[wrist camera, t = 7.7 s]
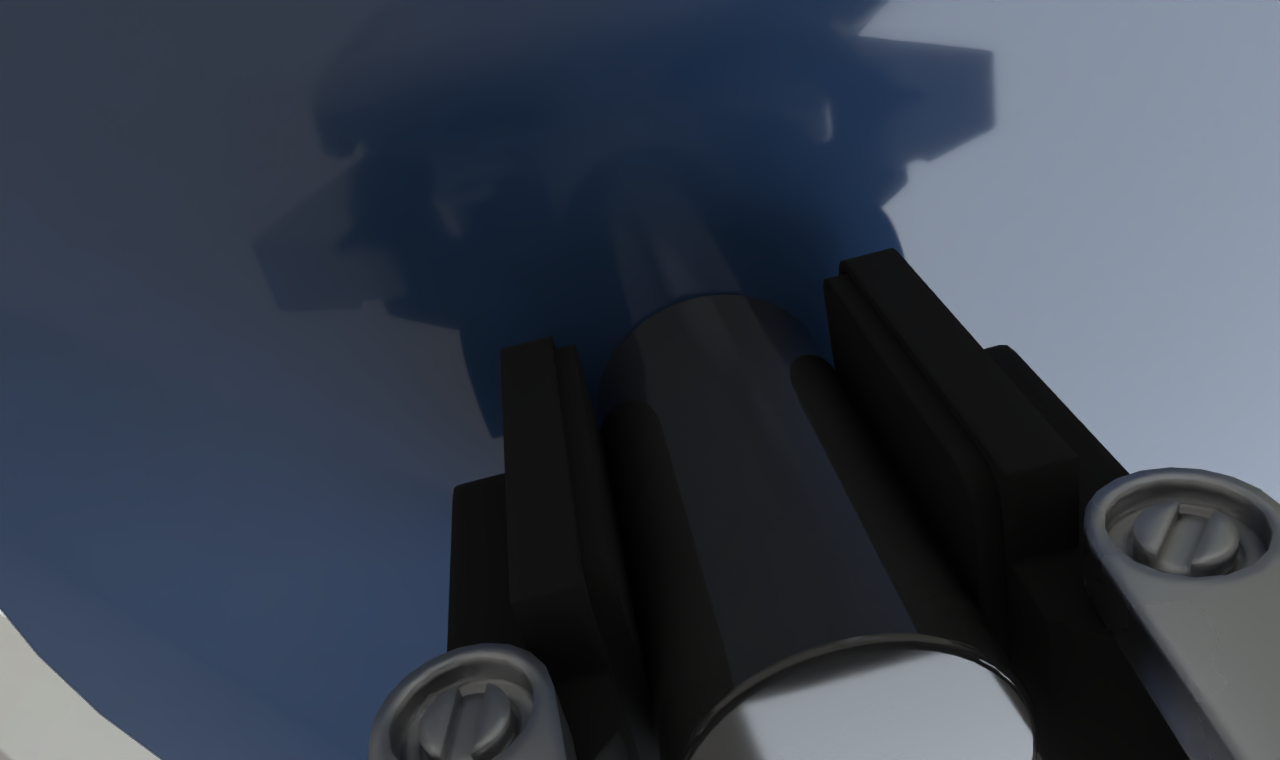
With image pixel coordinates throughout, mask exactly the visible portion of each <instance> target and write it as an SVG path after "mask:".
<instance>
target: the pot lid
mask: <svg viewBox="0 0 1280 760" xmlns="http://www.w3.org/2000/svg"><path fill="white" fill-rule="evenodd" d="M889 248H894V249H895V250H897V251H898V252H899V253H900V255H901V256H902V257H903V258H904V259H905V260H906V261H907V263H908V264H909V265H910V266H911V267H912V268H913V269H914V270H915V272H916V273H917V274H918V275H919V276H920V277H921V278H922V280H923V281H924V282H925V283H926V284H927V285H928V286H929V288H930V289H931V290H932V291H933V292H934V293H935V294H936V295H937V297H938V298H939V299H940V300H941V301H942V302H943V303H944V305H945V306H946V307H947V308H948V309H949V310H950V311H951V312H952V314H953V315H954V316H955V317H956V318H957V319H958V320H959V322H960V323H961V324H962V325H963V326H964V327H965V328H966V329H967V331H968V332H969V333H970V334H971V335H972V336H973V337H974V339H975V340H976V341H977V342H978V343H979V344H980V345H981V346H982V348H983V349H985V348H989V347H993V346H997V345H1008V346H1009V347H1010V348H1012V349H1013V350H1014V351H1015V352H1016V353H1017V354H1018V355H1019V356H1020V357H1021V358H1022V359H1023V360H1024V361H1025V362H1026V363H1027V364H1028V365H1029V366H1030V368H1031V369H1032V370H1033V371H1034V372H1035V373H1036V374H1037V375H1038V376H1039V377H1040V378H1041V379H1042V380H1043V381H1044V383H1045V384H1046V385H1047V386H1048V387H1049V388H1050V389H1051V390H1052V391H1053V392H1054V393H1055V394H1056V395H1057V396H1058V398H1059V399H1060V400H1061V401H1062V402H1063V403H1064V404H1065V405H1066V406H1067V407H1068V408H1069V409H1070V410H1071V412H1072V413H1073V414H1074V415H1075V416H1076V417H1077V418H1078V419H1079V420H1080V421H1081V422H1082V423H1083V424H1084V425H1085V427H1086V428H1087V429H1088V430H1089V431H1090V432H1091V433H1092V434H1093V435H1094V436H1095V437H1096V438H1097V439H1098V440H1099V442H1100V443H1101V444H1102V445H1103V446H1104V447H1105V448H1106V449H1107V450H1108V451H1109V452H1110V453H1111V454H1112V455H1113V457H1114V458H1115V459H1116V460H1117V461H1118V462H1119V463H1120V464H1121V465H1122V466H1123V467H1124V468H1125V469H1126V470H1127V472H1128V473H1129V474H1132V473H1135V472H1138V471H1141V470H1150V469H1159V468H1168V467H1175V468H1191V469H1203V470H1207V471H1211V472H1216V473H1220V474H1224V475H1228V476H1232V477H1235V478H1237V479H1239V480H1241V481H1244V482H1246V483H1248V484H1250V485H1253V486H1255V487H1257V488H1259V489H1261V490H1262V491H1263V492H1265V493H1266V494H1267V495H1269V496H1270V497H1271V498H1273V499H1274V500H1275V501H1276V502H1278V503H1279V504H1280V0H0V610H1V611H2V612H3V614H4V615H5V616H6V617H7V619H8V620H9V621H10V622H11V624H12V625H13V626H14V627H15V628H16V630H17V631H18V632H19V633H20V635H21V636H22V637H23V638H24V639H25V641H26V642H27V643H28V644H29V646H30V647H31V648H32V649H33V651H34V652H35V653H36V654H37V655H38V656H39V657H40V658H41V659H42V660H43V661H44V662H45V663H46V664H47V665H48V666H49V667H50V668H51V669H52V670H53V671H54V672H55V673H56V674H58V675H59V676H60V677H61V678H62V679H63V680H64V681H65V682H66V683H67V684H68V685H69V686H70V687H71V688H72V689H73V690H74V691H75V692H77V693H78V694H79V695H80V696H81V697H82V698H83V699H84V700H85V701H86V702H87V703H88V704H89V705H90V706H91V707H92V708H93V709H94V710H96V711H97V712H98V713H99V714H100V715H101V716H103V717H104V718H105V719H107V720H108V721H109V722H111V723H112V724H113V725H115V726H116V727H117V728H119V729H120V730H121V731H123V732H124V733H126V734H127V735H128V736H130V737H131V738H132V739H134V740H135V741H136V742H138V743H139V744H140V745H142V746H143V747H144V748H146V749H147V750H148V751H150V752H151V753H152V754H154V755H155V756H157V757H158V758H159V759H161V760H368V752H369V739H370V735H371V730H372V726H373V721H374V718H375V716H376V715H377V713H378V711H379V709H380V708H381V706H382V704H383V702H384V701H385V699H386V697H387V696H388V695H389V694H390V692H391V691H392V690H393V689H394V688H395V687H396V686H397V685H398V684H399V683H400V682H401V681H402V680H403V679H404V678H405V677H406V676H407V675H408V674H410V673H411V672H413V671H414V670H416V669H417V668H419V667H420V666H421V665H423V664H424V663H426V662H427V661H429V660H430V659H432V658H435V657H437V656H439V655H442V654H444V653H447V637H448V609H449V582H450V554H451V527H452V499H453V491H454V488H455V487H456V486H457V485H460V484H464V483H468V482H471V481H475V480H479V479H483V478H487V477H491V476H495V475H499V474H502V473H505V464H504V437H503V411H502V384H501V358H500V351H501V349H502V348H506V347H510V346H514V345H518V344H522V343H525V342H529V341H533V340H537V339H541V338H545V337H549V336H552V338H553V340H554V343H555V346H556V348H560V347H564V346H568V345H572V344H575V346H576V349H577V352H578V356H579V359H580V362H581V366H582V369H583V373H584V376H585V380H586V383H587V387H588V390H589V394H590V397H591V401H592V404H593V408H594V411H595V415H596V418H597V422H598V425H599V429H600V433H601V438H602V444H603V449H604V455H605V460H606V465H607V471H608V476H609V481H610V487H611V492H612V497H613V503H614V508H615V514H616V519H617V524H618V530H619V535H620V540H621V546H622V551H623V557H624V562H625V567H626V573H627V578H628V583H629V589H630V594H631V600H632V605H633V610H634V616H635V621H636V626H637V632H638V637H639V643H640V648H641V653H642V659H643V664H644V669H645V675H646V680H647V686H648V691H649V696H650V714H651V719H652V724H653V730H654V735H655V741H656V746H657V752H658V757H659V760H1036V758H1037V753H1038V741H1039V730H1038V722H1037V714H1036V710H1035V707H1034V704H1033V701H1032V699H1031V696H1030V694H1029V693H1028V691H1027V689H1026V688H1025V686H1024V684H1023V682H1022V681H1021V679H1020V677H1019V676H1018V674H1017V672H1016V671H1015V669H1014V668H1013V666H1012V664H1011V663H1010V661H1009V659H1008V658H1007V656H1006V654H1005V653H1004V651H1003V649H1002V648H1001V646H1000V644H999V643H998V641H997V639H996V638H995V636H994V634H993V633H992V631H991V629H990V628H989V626H988V624H987V623H986V621H985V619H984V618H983V616H982V614H981V613H980V611H979V609H978V608H977V606H976V604H975V603H974V601H973V599H972V598H971V596H970V594H969V593H968V591H967V589H966V588H965V586H964V584H963V583H962V581H961V579H960V578H959V576H958V574H957V573H956V571H955V569H954V568H953V566H952V564H951V563H950V561H949V559H948V558H947V556H946V554H945V553H944V551H943V549H942V548H941V546H940V544H939V543H938V541H937V540H936V538H935V536H934V535H933V533H932V531H931V530H930V528H929V526H928V525H927V523H926V521H925V520H924V518H923V516H922V515H921V513H920V511H919V510H918V508H917V506H916V505H915V503H914V501H913V500H912V498H911V496H910V495H909V493H908V491H907V490H906V488H905V486H904V485H903V483H902V481H901V480H900V478H899V476H898V475H897V473H896V471H895V470H894V468H893V466H892V465H891V463H890V461H889V460H888V458H887V456H886V455H885V453H884V451H883V450H882V448H881V446H880V445H879V443H878V441H877V440H876V438H875V436H874V435H873V433H872V431H871V430H870V428H869V426H868V425H867V423H866V421H865V420H864V418H863V416H862V415H861V413H860V412H859V410H858V408H857V407H856V405H855V403H854V402H853V400H852V398H851V397H850V395H849V393H848V392H847V390H846V388H845V387H844V385H843V383H842V382H841V380H840V378H839V377H838V375H837V373H836V372H835V368H834V361H833V354H832V347H831V340H830V333H829V326H828V319H827V312H826V306H825V299H824V290H823V282H824V279H827V278H831V277H835V276H839V264H840V261H843V260H847V259H851V258H854V257H858V256H862V255H866V254H870V253H874V252H878V251H882V250H885V249H889Z"/></svg>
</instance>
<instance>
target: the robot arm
mask: <svg viewBox="0 0 1280 760" xmlns="http://www.w3.org/2000/svg"><path fill="white" fill-rule="evenodd" d="M823 290H824V299H825V306H826V312H827V319H828V326H829V333H830V340H831V347H832V354H833V361H834V368H835V372H836V373H837V375H838V377H839V378H840V380H841V382H842V383H843V385H844V387H845V388H846V390H847V392H848V393H849V395H850V397H851V398H852V400H853V402H854V403H855V405H856V407H857V408H858V410H859V412H860V413H861V415H862V416H863V418H864V420H865V421H866V423H867V425H868V426H869V428H870V430H871V431H872V433H873V435H874V436H875V438H876V440H877V441H878V443H879V445H880V446H881V448H882V450H883V451H884V453H885V455H886V456H887V458H888V460H889V461H890V463H891V465H892V466H893V468H894V470H895V471H896V473H897V475H898V476H899V478H900V480H901V481H902V483H903V485H904V486H905V488H906V490H907V491H908V493H909V495H910V496H911V498H912V500H913V501H914V503H915V505H916V506H917V508H918V510H919V511H920V513H921V515H922V516H923V518H924V520H925V521H926V523H927V525H928V526H929V528H930V530H931V531H932V533H933V535H934V536H935V538H936V540H937V541H938V543H939V544H940V546H941V548H942V549H943V551H944V553H945V554H946V556H947V558H948V559H949V561H950V563H951V564H952V566H953V568H954V569H955V571H956V573H957V574H958V576H959V578H960V579H961V581H962V583H963V584H964V586H965V588H966V589H967V591H968V593H969V594H970V596H971V598H972V599H973V601H974V603H975V604H976V606H977V608H978V609H979V611H980V613H981V614H982V616H983V618H984V619H985V621H986V623H987V624H988V626H989V628H990V629H991V631H992V633H993V634H994V636H995V638H996V639H997V641H998V643H999V644H1000V646H1001V648H1002V649H1003V651H1004V653H1005V654H1006V656H1007V658H1008V659H1009V661H1010V663H1011V664H1012V666H1013V668H1014V669H1015V671H1016V672H1017V674H1018V676H1019V677H1020V679H1021V681H1022V682H1023V684H1024V686H1025V688H1026V689H1027V691H1028V693H1029V694H1030V696H1031V699H1032V701H1033V704H1034V707H1035V710H1036V714H1037V722H1038V730H1039V741H1038V753H1037V758H1036V760H1280V504H1279V503H1278V502H1276V501H1275V500H1274V499H1273V498H1271V497H1270V496H1269V495H1267V494H1266V493H1265V492H1263V491H1262V490H1261V489H1259V488H1257V487H1255V486H1253V485H1250V484H1248V483H1246V482H1244V481H1241V480H1239V479H1237V478H1235V477H1232V476H1228V475H1224V474H1220V473H1216V472H1211V471H1207V470H1203V469H1191V468H1175V467H1168V468H1159V469H1150V470H1141V471H1138V472H1135V473H1132V474H1129V473H1128V472H1127V470H1126V469H1125V468H1124V467H1123V466H1122V465H1121V464H1120V463H1119V462H1118V461H1117V460H1116V459H1115V458H1114V457H1113V455H1112V454H1111V453H1110V452H1109V451H1108V450H1107V449H1106V448H1105V447H1104V446H1103V445H1102V444H1101V443H1100V442H1099V440H1098V439H1097V438H1096V437H1095V436H1094V435H1093V434H1092V433H1091V432H1090V431H1089V430H1088V429H1087V428H1086V427H1085V425H1084V424H1083V423H1082V422H1081V421H1080V420H1079V419H1078V418H1077V417H1076V416H1075V415H1074V414H1073V413H1072V412H1071V410H1070V409H1069V408H1068V407H1067V406H1066V405H1065V404H1064V403H1063V402H1062V401H1061V400H1060V399H1059V398H1058V396H1057V395H1056V394H1055V393H1054V392H1053V391H1052V390H1051V389H1050V388H1049V387H1048V386H1047V385H1046V384H1045V383H1044V381H1043V380H1042V379H1041V378H1040V377H1039V376H1038V375H1037V374H1036V373H1035V372H1034V371H1033V370H1032V369H1031V368H1030V366H1029V365H1028V364H1027V363H1026V362H1025V361H1024V360H1023V359H1022V358H1021V357H1020V356H1019V355H1018V354H1017V353H1016V352H1015V351H1014V350H1013V349H1012V348H1010V347H1009V346H1008V345H997V346H993V347H989V348H985V349H983V348H982V346H981V345H980V344H979V343H978V342H977V341H976V340H975V339H974V337H973V336H972V335H971V334H970V333H969V332H968V331H967V329H966V328H965V327H964V326H963V325H962V324H961V323H960V322H959V320H958V319H957V318H956V317H955V316H954V315H953V314H952V312H951V311H950V310H949V309H948V308H947V307H946V306H945V305H944V303H943V302H942V301H941V300H940V299H939V298H938V297H937V295H936V294H935V293H934V292H933V291H932V290H931V289H930V288H929V286H928V285H927V284H926V283H925V282H924V281H923V280H922V278H921V277H920V276H919V275H918V274H917V273H916V272H915V270H914V269H913V268H912V267H911V266H910V265H909V264H908V263H907V261H906V260H905V259H904V258H903V257H902V256H901V255H900V253H899V252H898V251H897V250H895V249H894V248H889V249H885V250H882V251H878V252H874V253H870V254H866V255H862V256H858V257H854V258H851V259H847V260H843V261H840V264H839V276H835V277H831V278H827V279H824V282H823ZM500 358H501V384H502V411H503V437H504V464H505V473H502V474H499V475H495V476H491V477H487V478H483V479H479V480H475V481H471V482H468V483H464V484H460V485H457V486H456V487H455V488H454V491H453V499H452V527H451V554H450V582H449V609H448V637H447V653H444V654H442V655H439V656H437V657H435V658H432V659H430V660H429V661H427V662H426V663H424V664H423V665H421V666H420V667H419V668H417V669H416V670H414V671H413V672H411V673H410V674H408V675H407V676H406V677H405V678H404V679H403V680H402V681H401V682H400V683H399V684H398V685H397V686H396V687H395V688H394V689H393V690H392V691H391V692H390V694H389V695H388V696H387V697H386V699H385V701H384V702H383V704H382V706H381V708H380V709H379V711H378V713H377V715H376V716H375V718H374V721H373V726H372V730H371V735H370V739H369V752H368V760H659V757H658V752H657V746H656V741H655V735H654V730H653V724H652V719H651V714H650V696H649V691H648V686H647V680H646V675H645V669H644V664H643V659H642V653H641V648H640V643H639V637H638V632H637V626H636V621H635V616H634V610H633V605H632V600H631V594H630V589H629V583H628V578H627V573H626V567H625V562H624V557H623V551H622V546H621V540H620V535H619V530H618V524H617V519H616V514H615V508H614V503H613V497H612V492H611V487H610V481H609V476H608V471H607V465H606V460H605V455H604V449H603V444H602V438H601V433H600V429H599V425H598V422H597V418H596V415H595V411H594V408H593V404H592V401H591V397H590V394H589V390H588V387H587V383H586V380H585V376H584V373H583V369H582V366H581V362H580V359H579V356H578V352H577V349H576V346H575V344H572V345H568V346H564V347H560V348H556V346H555V343H554V340H553V338H552V336H549V337H545V338H541V339H537V340H533V341H529V342H525V343H522V344H518V345H514V346H510V347H506V348H502V349H501V351H500Z"/></svg>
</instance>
